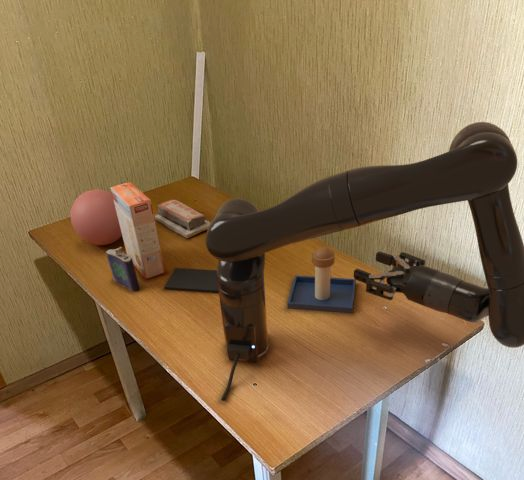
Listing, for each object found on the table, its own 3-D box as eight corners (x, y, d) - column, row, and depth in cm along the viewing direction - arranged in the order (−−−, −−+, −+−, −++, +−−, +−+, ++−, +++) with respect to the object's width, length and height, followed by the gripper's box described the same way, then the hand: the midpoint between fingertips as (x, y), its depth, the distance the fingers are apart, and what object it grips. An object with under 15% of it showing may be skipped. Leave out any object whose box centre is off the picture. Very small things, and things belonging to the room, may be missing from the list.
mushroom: (332, 302, 126) (333, 254, 117) (310, 301, 127) (310, 253, 118) (334, 290, 130) (336, 242, 121) (313, 289, 131) (313, 241, 122)
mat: (241, 294, 131) (240, 292, 131) (164, 289, 135) (164, 286, 134) (248, 274, 138) (248, 272, 137) (176, 270, 141) (175, 267, 141)
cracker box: (166, 273, 141) (151, 199, 127) (145, 280, 138) (127, 206, 125) (147, 251, 150) (131, 180, 136) (127, 257, 148) (108, 186, 134)
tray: (352, 314, 123) (352, 307, 122) (287, 309, 126) (287, 303, 124) (355, 285, 132) (356, 279, 130) (295, 281, 134) (295, 275, 133)
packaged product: (150, 205, 161) (177, 194, 166) (153, 220, 164) (180, 209, 169) (184, 224, 150) (212, 212, 155) (187, 239, 154) (214, 227, 158)
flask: (112, 281, 139) (101, 245, 132) (120, 276, 141) (111, 240, 134) (134, 293, 134) (125, 256, 127) (143, 287, 136) (134, 251, 129)
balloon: (155, 234, 157) (145, 184, 147) (96, 261, 147) (81, 210, 137) (127, 218, 166) (115, 170, 156) (69, 243, 156) (53, 193, 146)
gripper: (455, 258, 107) (385, 235, 115) (419, 290, 99) (347, 263, 108) (448, 288, 112) (382, 264, 120) (414, 322, 104) (346, 294, 113)
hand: (365, 264), depth 114 cm, fingers open, 8 cm apart
